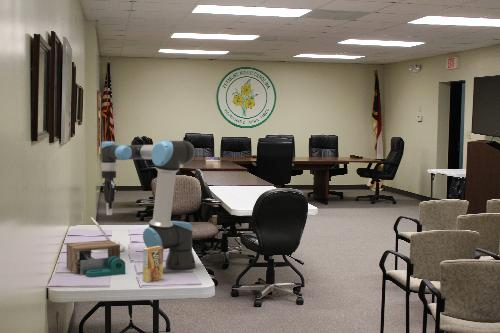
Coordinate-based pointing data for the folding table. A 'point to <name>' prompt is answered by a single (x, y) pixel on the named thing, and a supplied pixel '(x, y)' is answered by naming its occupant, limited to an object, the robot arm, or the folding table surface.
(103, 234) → the tablet stand
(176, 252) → the robot arm
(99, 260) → the dark grey block
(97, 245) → the tunnel
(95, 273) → the bracket
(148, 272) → the candy box
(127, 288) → the folding table surface
